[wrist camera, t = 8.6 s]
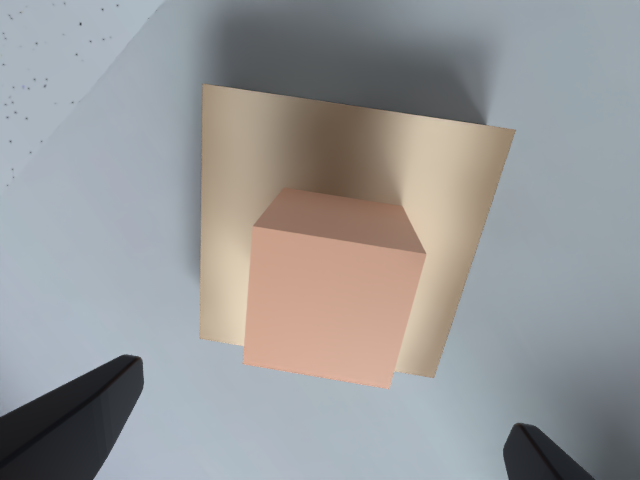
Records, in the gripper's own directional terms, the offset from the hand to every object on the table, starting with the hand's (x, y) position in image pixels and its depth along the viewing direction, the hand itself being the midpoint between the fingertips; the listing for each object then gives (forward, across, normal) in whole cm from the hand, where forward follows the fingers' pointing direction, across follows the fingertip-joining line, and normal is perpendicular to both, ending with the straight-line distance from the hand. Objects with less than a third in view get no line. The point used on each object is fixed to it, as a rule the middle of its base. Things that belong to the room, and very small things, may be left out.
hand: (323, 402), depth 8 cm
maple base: (+11, 0, -1) cm, 11 cm away
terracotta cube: (+8, 0, -1) cm, 8 cm away
